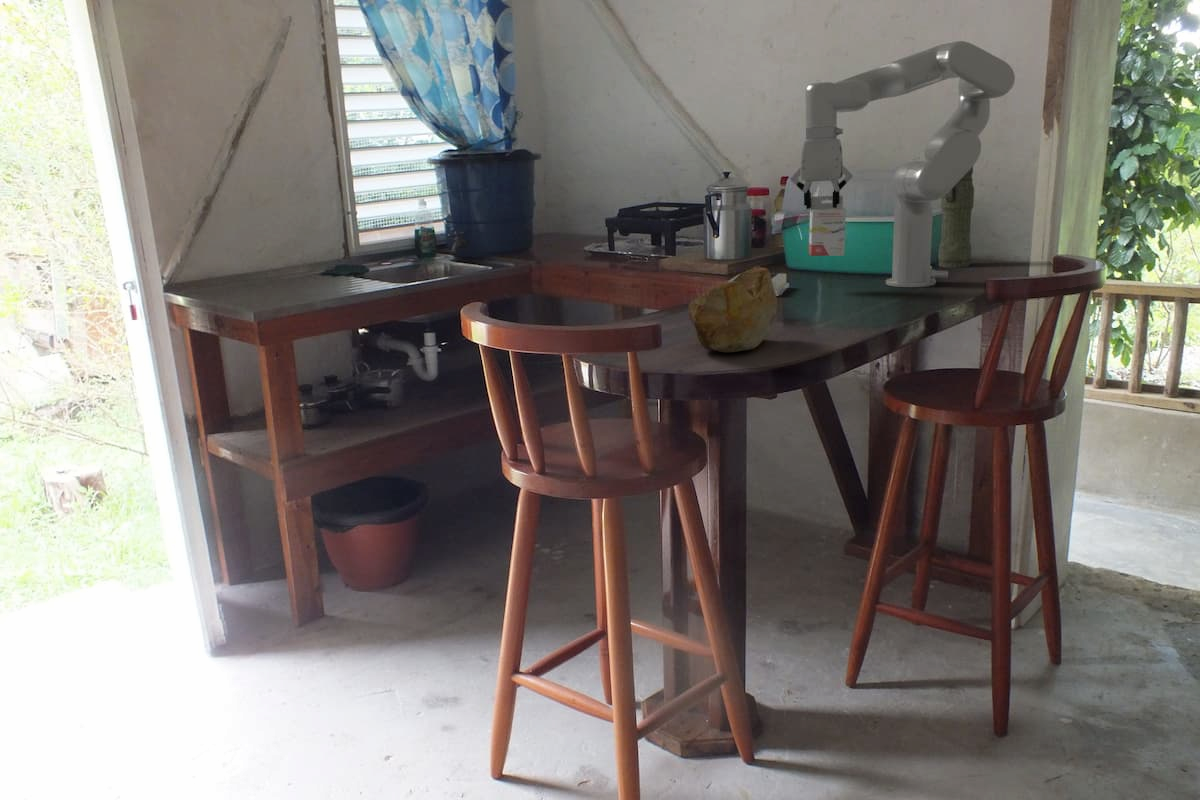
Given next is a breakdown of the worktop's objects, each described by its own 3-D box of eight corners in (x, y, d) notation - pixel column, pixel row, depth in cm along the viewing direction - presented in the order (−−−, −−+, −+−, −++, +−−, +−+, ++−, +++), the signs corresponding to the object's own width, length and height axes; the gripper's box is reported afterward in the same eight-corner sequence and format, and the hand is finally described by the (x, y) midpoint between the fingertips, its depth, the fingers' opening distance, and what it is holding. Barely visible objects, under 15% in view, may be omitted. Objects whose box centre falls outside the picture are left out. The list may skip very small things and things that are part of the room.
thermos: (932, 270, 282) (937, 146, 273) (944, 265, 291) (950, 145, 282) (963, 271, 277) (970, 145, 268) (974, 266, 286) (981, 144, 277)
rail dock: (788, 288, 261) (789, 273, 260) (778, 297, 247) (778, 281, 246) (738, 287, 266) (737, 273, 265) (725, 296, 252) (724, 281, 251)
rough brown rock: (713, 332, 207) (712, 262, 203) (787, 337, 198) (787, 264, 194) (662, 353, 188) (660, 277, 184) (741, 360, 179) (741, 280, 175)
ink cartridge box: (811, 256, 247) (811, 198, 242) (808, 253, 251) (809, 196, 247) (845, 255, 246) (846, 196, 242) (842, 252, 251) (843, 194, 246)
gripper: (858, 132, 241) (858, 205, 246) (789, 136, 247) (790, 208, 252) (854, 132, 234) (854, 207, 239) (783, 137, 240) (785, 210, 245)
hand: (821, 207), depth 245 cm, fingers closed on ink cartridge box, 5 cm apart
